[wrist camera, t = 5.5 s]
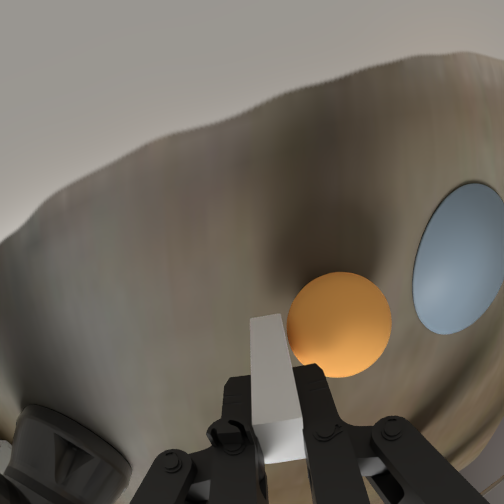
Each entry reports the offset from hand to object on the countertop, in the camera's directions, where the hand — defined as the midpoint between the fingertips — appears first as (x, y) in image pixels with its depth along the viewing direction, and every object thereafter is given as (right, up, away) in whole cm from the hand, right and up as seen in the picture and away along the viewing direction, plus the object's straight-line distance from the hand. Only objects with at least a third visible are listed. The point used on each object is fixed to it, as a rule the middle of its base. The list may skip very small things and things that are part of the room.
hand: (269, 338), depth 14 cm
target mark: (+16, +4, +2) cm, 16 cm away
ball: (+4, +1, 0) cm, 4 cm away
